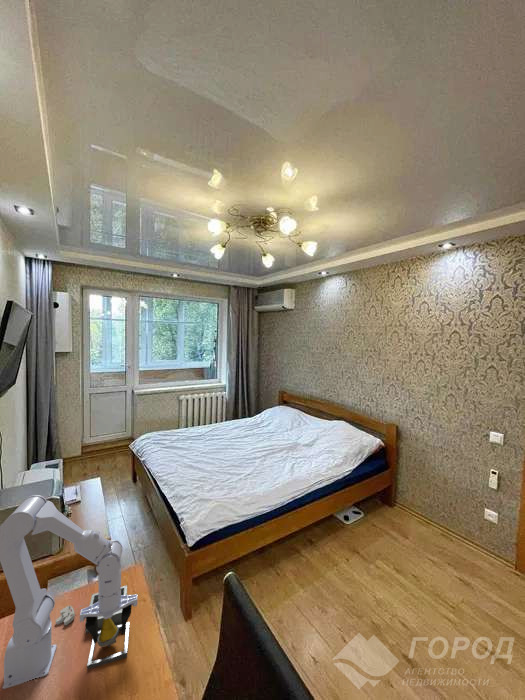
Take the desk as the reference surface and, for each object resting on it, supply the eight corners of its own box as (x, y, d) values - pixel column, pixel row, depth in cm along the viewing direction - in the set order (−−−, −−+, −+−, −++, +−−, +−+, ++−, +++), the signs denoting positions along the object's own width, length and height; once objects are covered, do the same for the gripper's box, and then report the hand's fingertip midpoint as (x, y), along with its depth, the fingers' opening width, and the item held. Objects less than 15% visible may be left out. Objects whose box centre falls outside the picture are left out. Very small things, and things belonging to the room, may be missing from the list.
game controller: (51, 622, 90) (51, 614, 90) (87, 594, 100) (87, 586, 100) (63, 630, 88) (63, 621, 87) (98, 600, 98) (98, 592, 98)
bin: (85, 634, 86) (85, 622, 86) (92, 604, 96) (92, 594, 96) (124, 622, 90) (124, 611, 90) (127, 595, 100) (127, 585, 100)
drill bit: (111, 657, 80) (106, 620, 80) (94, 656, 81) (90, 619, 81) (124, 638, 85) (119, 603, 85) (108, 638, 86) (104, 603, 86)
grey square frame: (87, 671, 77) (87, 666, 77) (93, 637, 86) (93, 632, 86) (127, 657, 80) (127, 652, 80) (129, 626, 89) (129, 621, 89)
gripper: (77, 608, 76) (76, 659, 76) (136, 592, 81) (136, 640, 82) (82, 587, 83) (82, 634, 83) (137, 574, 88) (137, 618, 88)
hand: (109, 635), depth 83 cm, fingers open, 6 cm apart
